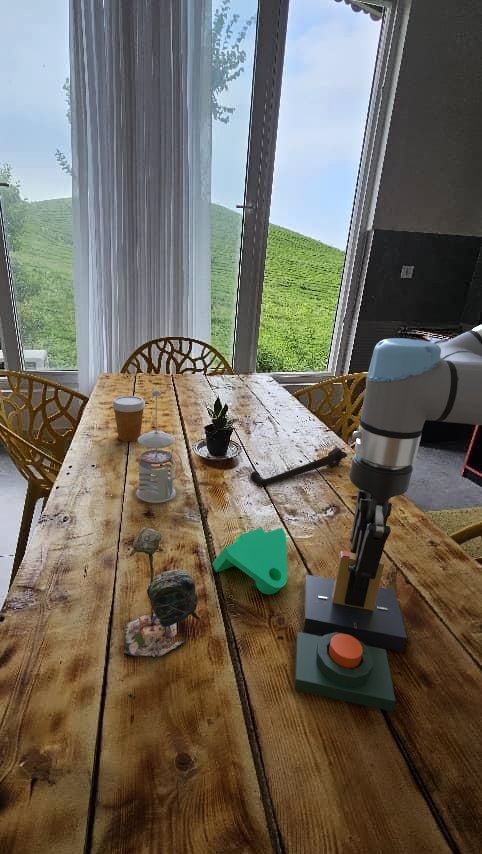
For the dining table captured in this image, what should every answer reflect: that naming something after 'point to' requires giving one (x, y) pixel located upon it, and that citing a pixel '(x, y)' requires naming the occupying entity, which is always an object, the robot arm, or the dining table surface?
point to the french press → (162, 486)
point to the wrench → (303, 467)
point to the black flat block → (353, 616)
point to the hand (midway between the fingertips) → (353, 598)
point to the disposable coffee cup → (128, 416)
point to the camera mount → (258, 558)
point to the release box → (343, 673)
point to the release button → (345, 651)
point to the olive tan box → (343, 579)
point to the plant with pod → (160, 603)
